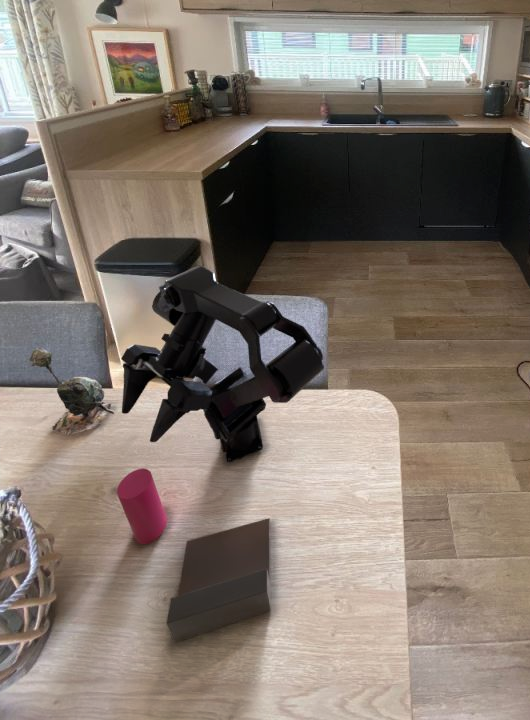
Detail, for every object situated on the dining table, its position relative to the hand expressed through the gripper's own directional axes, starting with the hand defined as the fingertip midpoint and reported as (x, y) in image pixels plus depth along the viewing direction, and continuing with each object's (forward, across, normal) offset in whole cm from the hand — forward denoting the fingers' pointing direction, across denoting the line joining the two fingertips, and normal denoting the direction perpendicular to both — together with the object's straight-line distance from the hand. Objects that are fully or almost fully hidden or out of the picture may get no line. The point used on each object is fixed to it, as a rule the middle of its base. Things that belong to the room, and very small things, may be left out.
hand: (138, 426), depth 64 cm
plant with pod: (+10, +22, -8) cm, 26 cm away
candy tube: (+12, -8, -6) cm, 15 cm away
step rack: (+10, -23, -8) cm, 26 cm away
